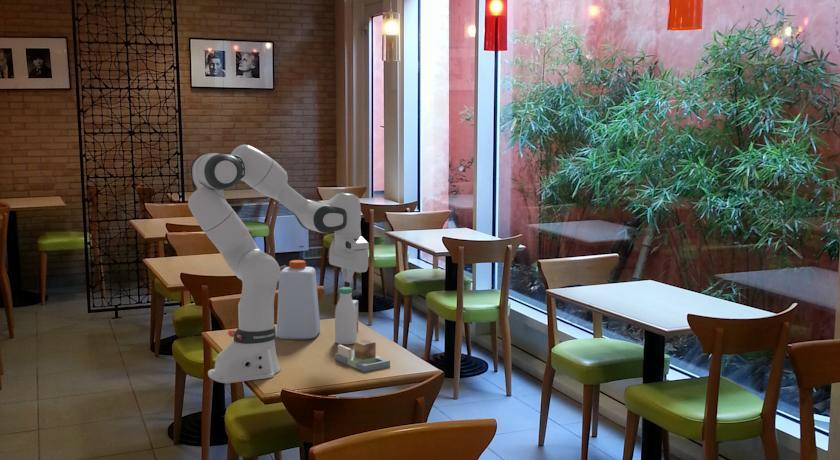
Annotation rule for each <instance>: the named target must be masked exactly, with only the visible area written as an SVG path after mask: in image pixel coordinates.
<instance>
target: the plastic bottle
mask: <svg viewBox="0 0 840 460" xmlns="http://www.w3.org/2000/svg"><path fill="white" fill-rule="evenodd" d="M306 263H307V262H306V261H305V260H302V259H293V260H290V261H289V263H288V264H289V265H288V266H285V267H284V268H283V269H281V270H280V271H281V273H280V278H279V280H278V294H277V311H276V313H277V314H276V317H277V318H276V329H275V330H276V338H278V339H280V340H290V339H291V340H295V341H296V340H299V341H300V340H301V341H302V340H306V341H307V340H313V339H315V338H316V337H318V335H319V333H320V332H321V321H320V310H319V309H320V308H319V298H318V285H317V274H316V273H317V272H316V269H315V268H314V267H313V266H307V264H306Z"/></svg>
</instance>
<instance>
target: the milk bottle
mask: <svg viewBox="0 0 840 460" xmlns="http://www.w3.org/2000/svg"><path fill="white" fill-rule="evenodd" d="M338 294H339V298H338V301H337V303H336V306H335V311H334V333H335V334H334V339H335V340H334V341H335V343H336V344H337V345H340V344H341V345H343V346H345V345H353V344H354V342H355V341H358V340H357V336H358V335H357V332H358V331H357V320H356V307H355V305H354V303H353V300H354V299H353V297H352V295H353V288H352V287H350V286H342V287H339V289H338ZM354 345H355V344H354Z"/></svg>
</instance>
